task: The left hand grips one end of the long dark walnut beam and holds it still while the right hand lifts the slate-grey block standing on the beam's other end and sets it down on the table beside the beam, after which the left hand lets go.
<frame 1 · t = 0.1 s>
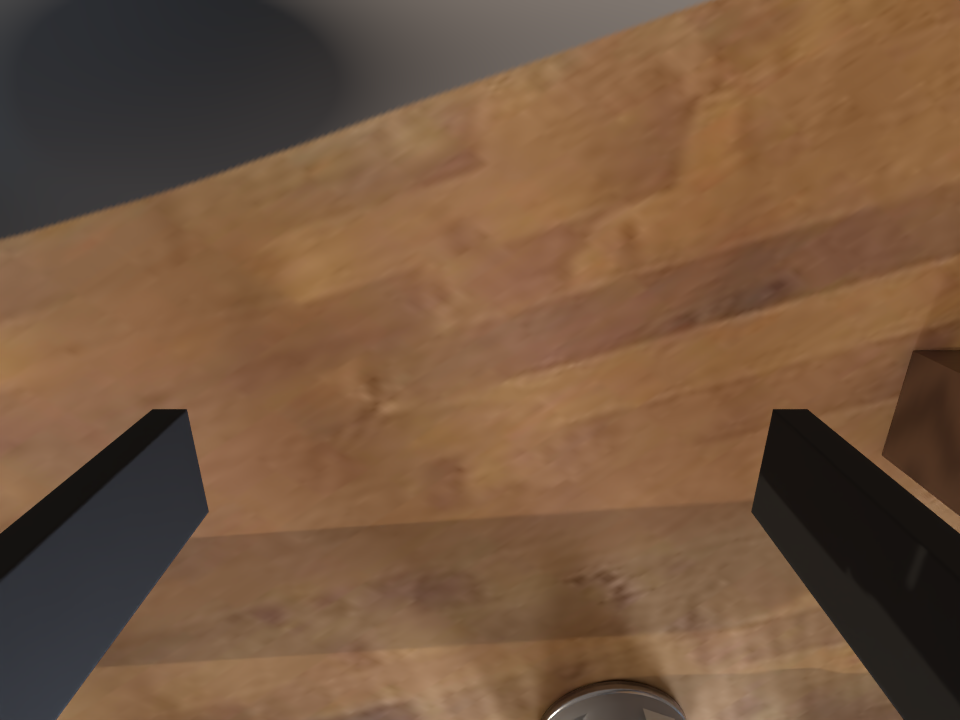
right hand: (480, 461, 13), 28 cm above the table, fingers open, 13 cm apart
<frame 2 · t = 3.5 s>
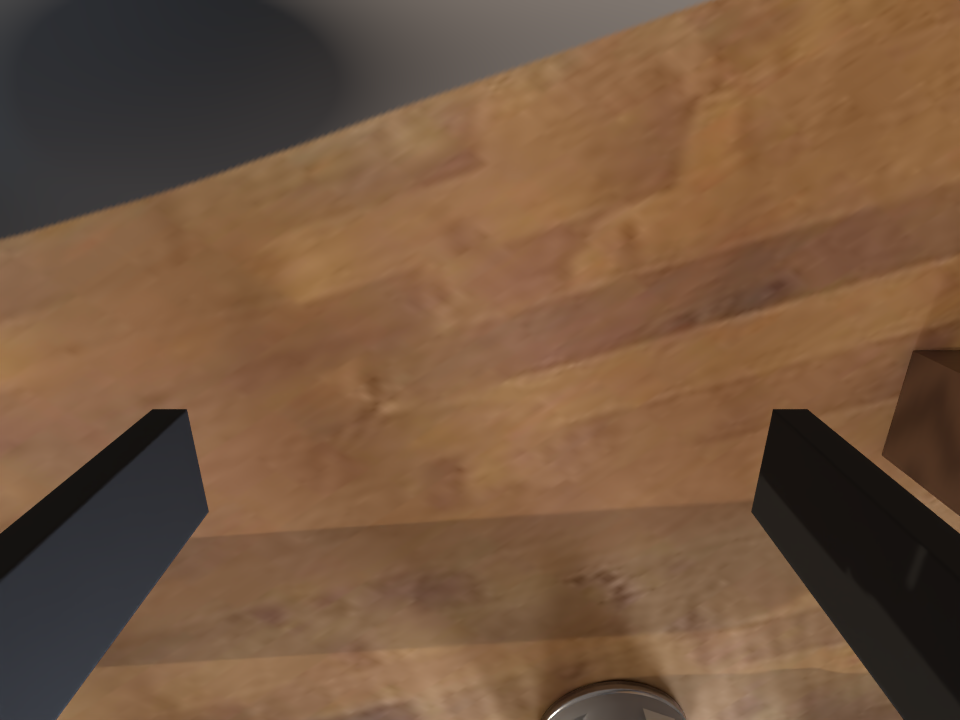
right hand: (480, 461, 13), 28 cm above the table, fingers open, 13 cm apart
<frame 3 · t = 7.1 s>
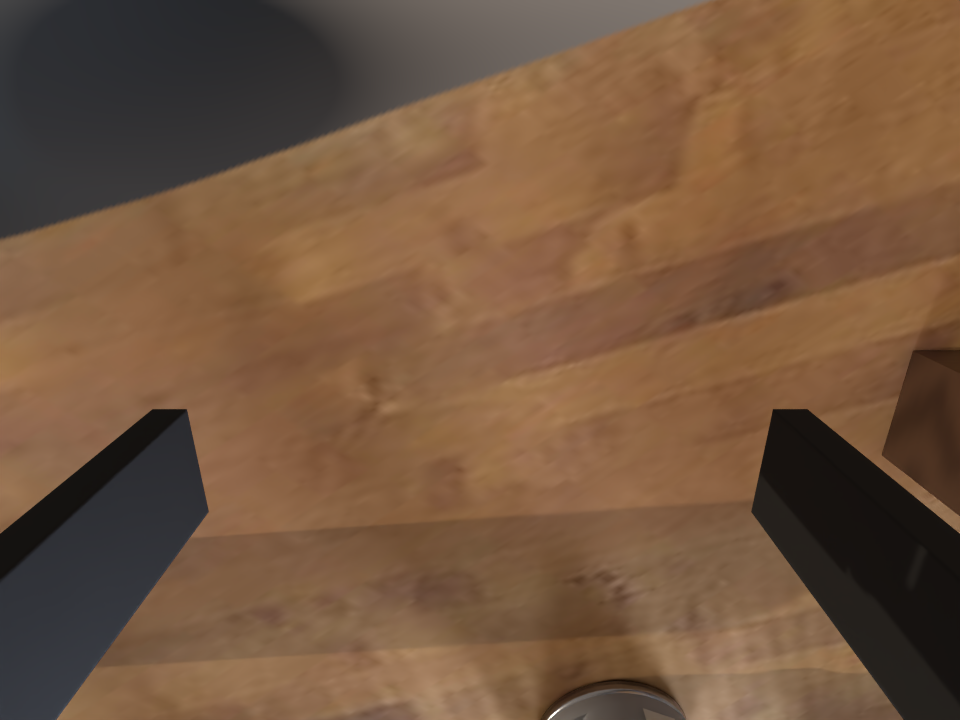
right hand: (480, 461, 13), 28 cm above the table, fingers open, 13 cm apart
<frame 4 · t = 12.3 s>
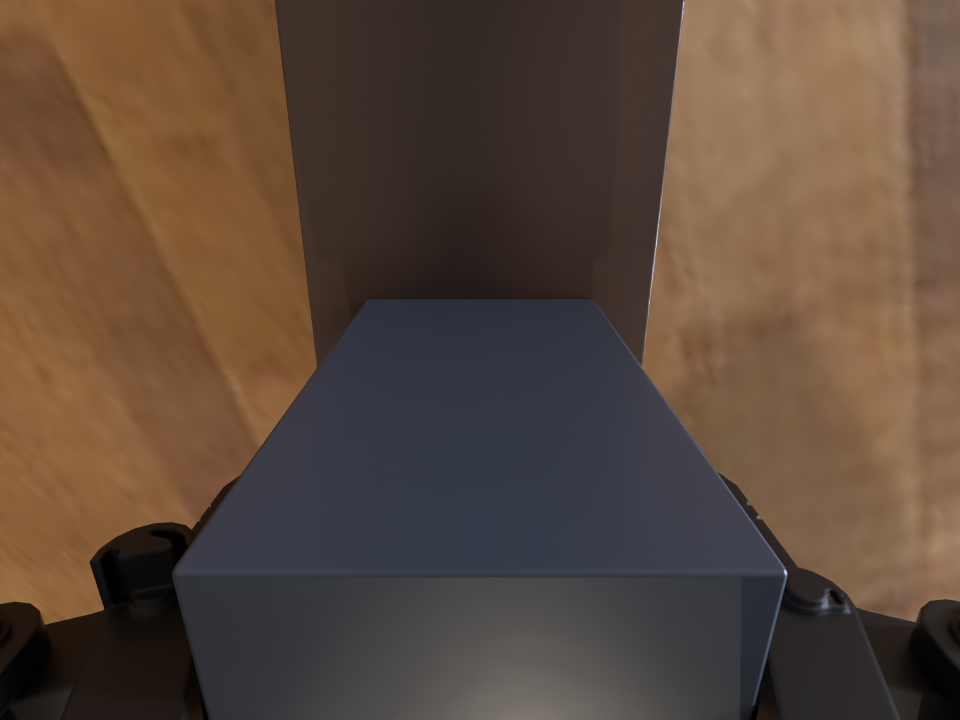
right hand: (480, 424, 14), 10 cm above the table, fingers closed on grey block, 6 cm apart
walnut beam: (479, 48, 20), on the table, touching grey block, left hand
grey block: (479, 401, 16), point 9 cm above the table, touching right hand, walnut beam
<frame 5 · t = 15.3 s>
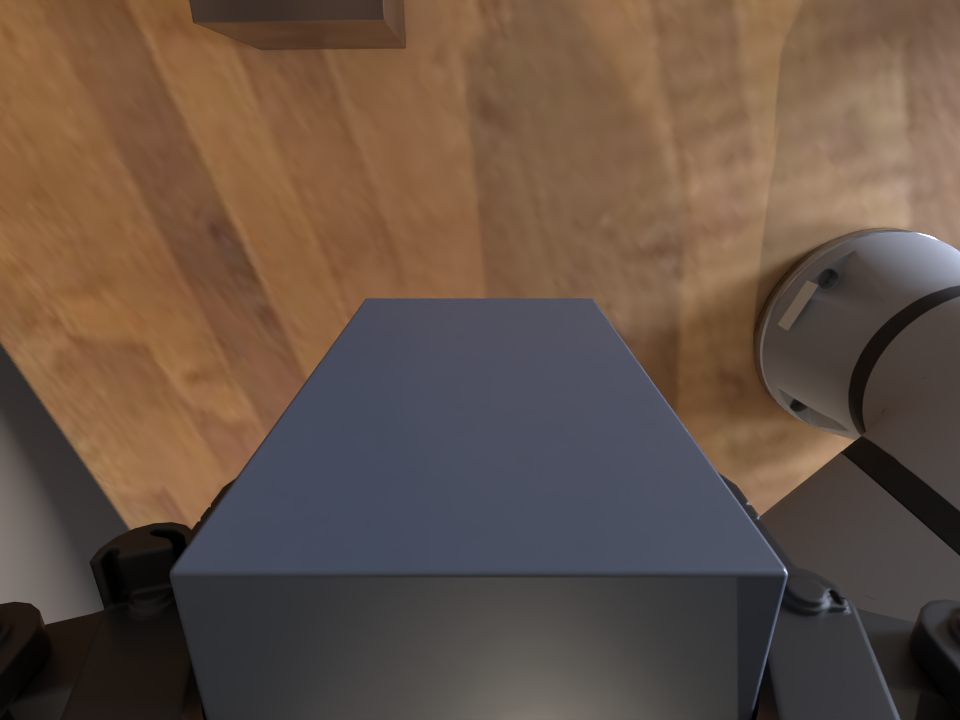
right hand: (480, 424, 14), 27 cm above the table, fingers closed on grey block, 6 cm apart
grey block: (479, 401, 16), point 25 cm above the table, touching right hand
when the right hand's fingers open (3 cm above the table, at t = 20.4 s): grey block drops 1 cm, on the table.
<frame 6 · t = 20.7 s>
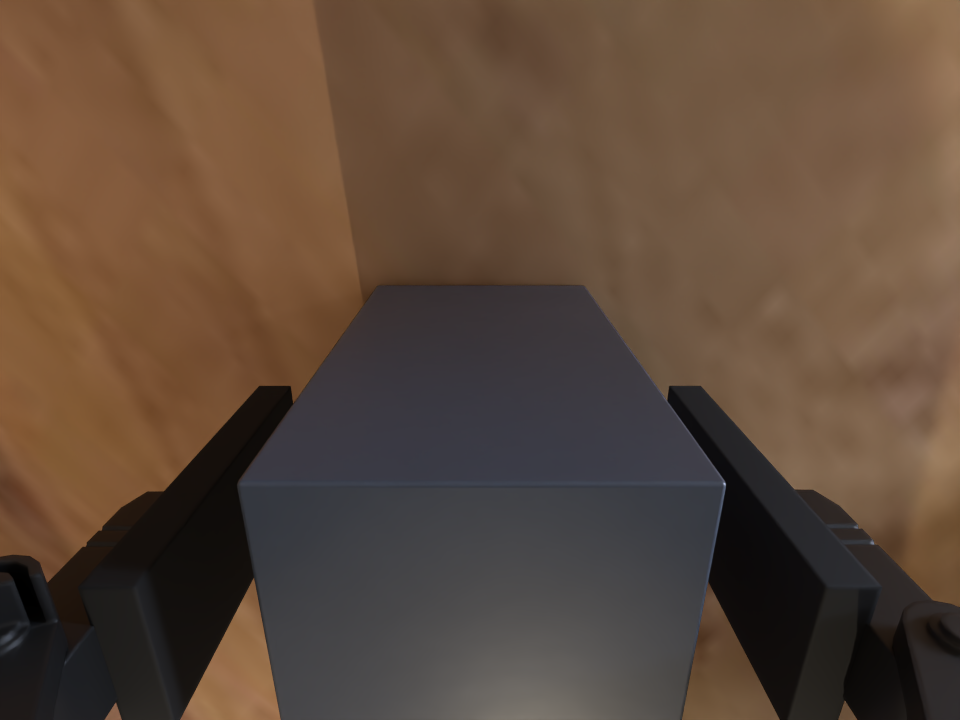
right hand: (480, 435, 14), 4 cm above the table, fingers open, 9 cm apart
grey block: (480, 380, 17), on the table
when the left hand's fingers open (1 cm above the table, at t = 23.7 s): walnut beam stays where it is, on the table.
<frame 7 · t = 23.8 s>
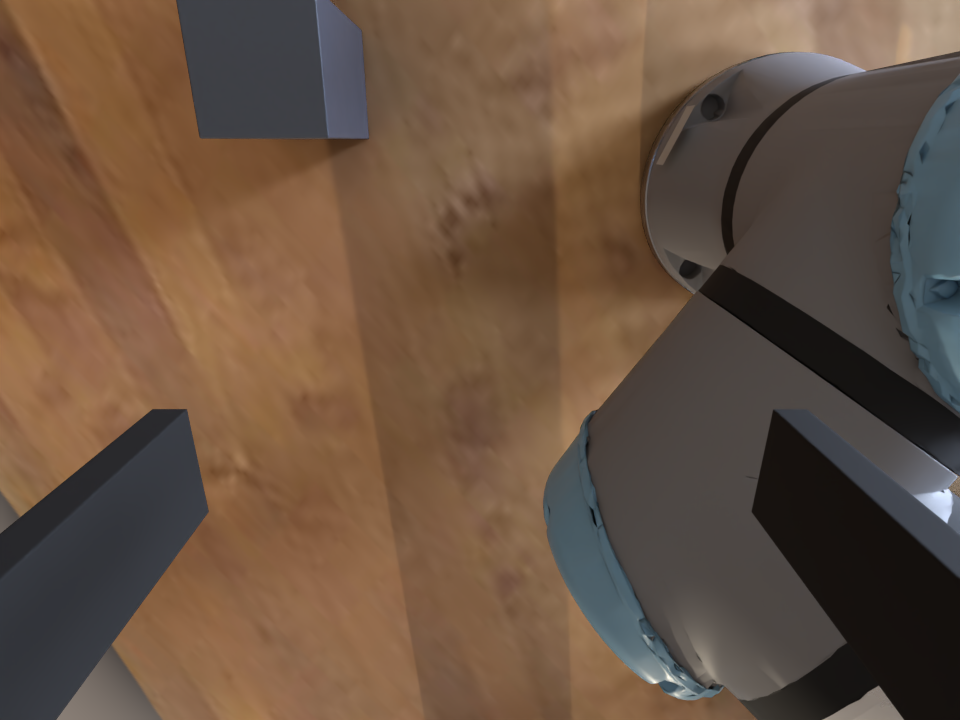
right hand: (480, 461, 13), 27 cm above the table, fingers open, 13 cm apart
grey block: (316, 86, 34), on the table
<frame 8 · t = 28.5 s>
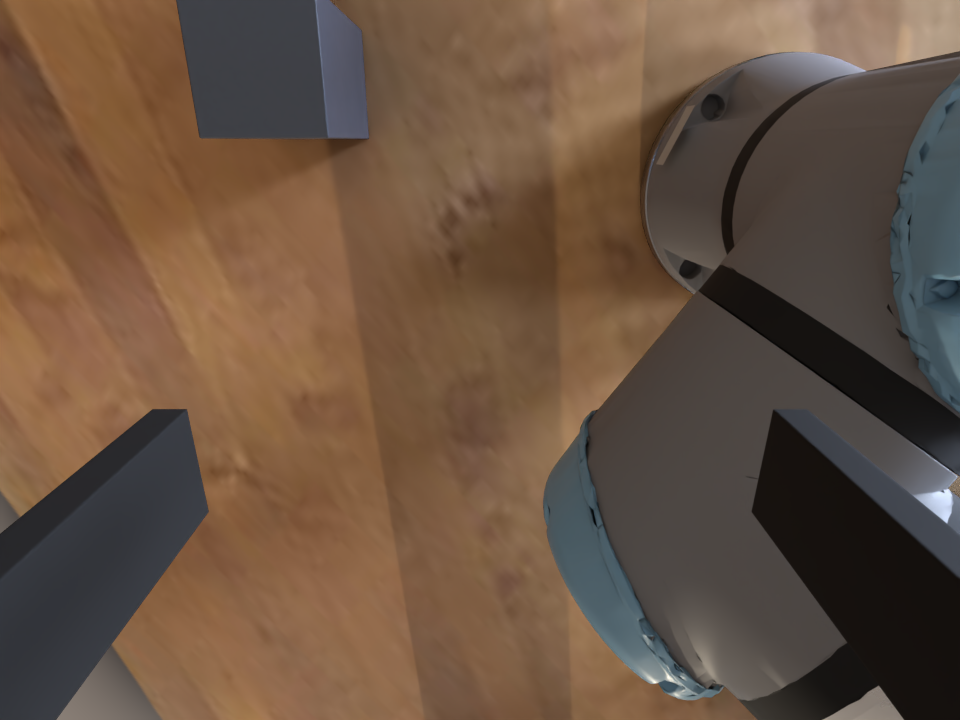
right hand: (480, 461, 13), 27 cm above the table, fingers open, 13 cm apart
grey block: (316, 86, 34), on the table
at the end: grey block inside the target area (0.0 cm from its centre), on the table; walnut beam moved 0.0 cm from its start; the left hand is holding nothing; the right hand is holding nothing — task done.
